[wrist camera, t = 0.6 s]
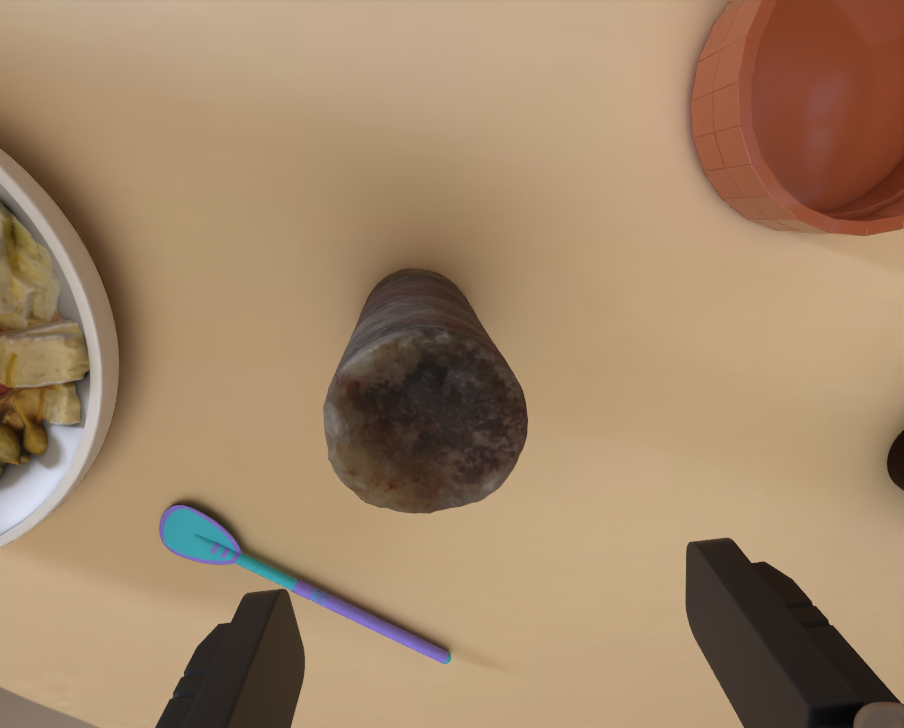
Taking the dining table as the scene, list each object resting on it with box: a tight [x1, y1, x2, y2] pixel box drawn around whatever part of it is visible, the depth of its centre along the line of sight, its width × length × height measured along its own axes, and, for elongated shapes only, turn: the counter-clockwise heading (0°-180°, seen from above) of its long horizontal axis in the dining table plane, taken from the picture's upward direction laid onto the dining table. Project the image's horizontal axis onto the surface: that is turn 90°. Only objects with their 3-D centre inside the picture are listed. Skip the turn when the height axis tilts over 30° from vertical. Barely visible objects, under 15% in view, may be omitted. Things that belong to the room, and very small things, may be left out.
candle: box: [323, 269, 528, 513], centre depth 28 cm, size 8×7×20 cm
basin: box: [691, 0, 904, 236], centre depth 32 cm, size 17×17×6 cm
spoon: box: [160, 505, 451, 664], centre depth 42 cm, size 25×4×1 cm, turn 61°
